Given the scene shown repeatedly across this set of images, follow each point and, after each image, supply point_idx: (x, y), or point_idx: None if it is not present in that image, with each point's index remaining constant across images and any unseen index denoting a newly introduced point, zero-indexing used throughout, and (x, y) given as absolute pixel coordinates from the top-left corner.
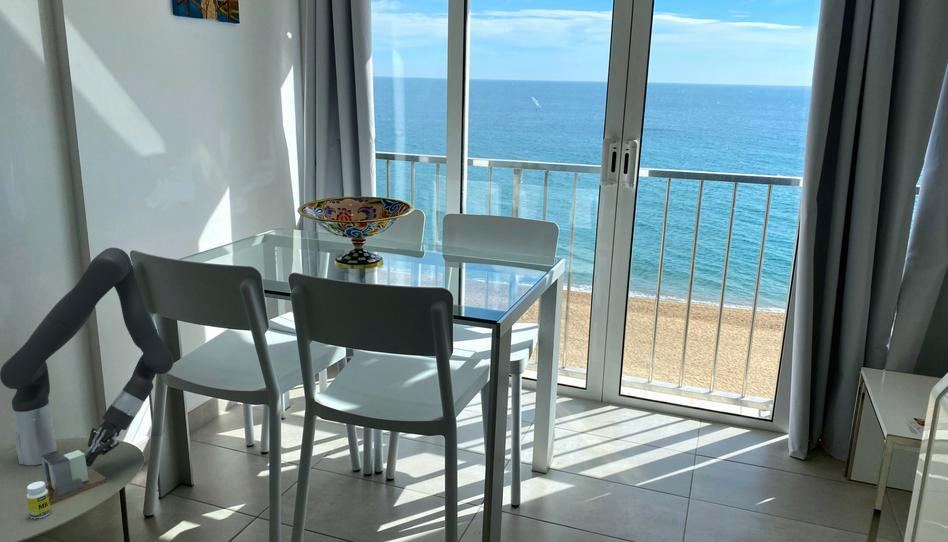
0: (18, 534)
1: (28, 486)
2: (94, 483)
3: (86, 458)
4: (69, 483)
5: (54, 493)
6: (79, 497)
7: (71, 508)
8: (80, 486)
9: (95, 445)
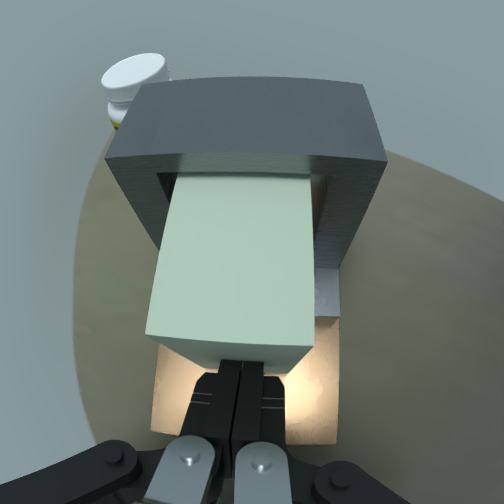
0: None
1: (152, 54)
2: (157, 371)
3: (229, 387)
4: None
5: None
6: (139, 283)
7: (99, 229)
8: None
9: (197, 500)
